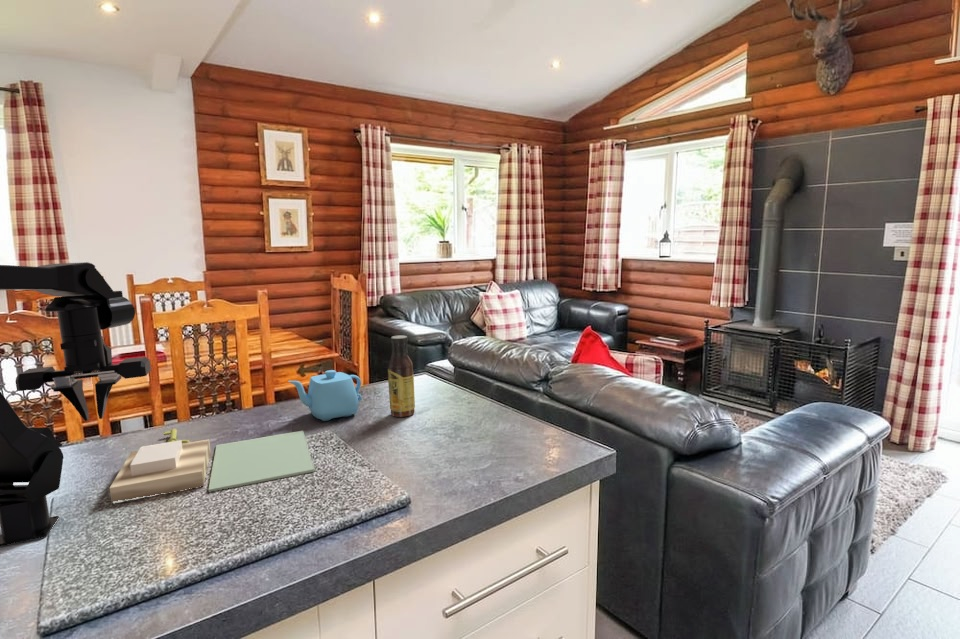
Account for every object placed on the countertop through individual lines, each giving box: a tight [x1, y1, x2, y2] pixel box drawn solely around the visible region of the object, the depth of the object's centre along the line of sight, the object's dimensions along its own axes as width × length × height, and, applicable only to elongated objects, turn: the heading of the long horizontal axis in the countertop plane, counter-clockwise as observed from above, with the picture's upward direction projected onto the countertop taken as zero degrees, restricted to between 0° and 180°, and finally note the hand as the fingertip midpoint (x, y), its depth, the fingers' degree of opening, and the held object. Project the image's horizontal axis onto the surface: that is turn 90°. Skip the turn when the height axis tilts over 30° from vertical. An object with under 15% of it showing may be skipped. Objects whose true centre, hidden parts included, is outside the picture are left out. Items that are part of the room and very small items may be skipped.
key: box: [163, 428, 191, 444], centre depth 118 cm, size 7×12×2 cm, turn 46°
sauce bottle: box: [387, 334, 416, 418], centre depth 131 cm, size 7×6×20 cm
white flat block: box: [130, 439, 183, 476], centre depth 100 cm, size 10×7×2 cm
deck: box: [109, 438, 212, 503], centre depth 101 cm, size 18×14×3 cm
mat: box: [208, 430, 315, 493], centre depth 108 cm, size 24×18×1 cm
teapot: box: [287, 369, 363, 422], centre depth 133 cm, size 12×18×12 cm
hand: (94, 419), depth 96 cm, fingers closed
